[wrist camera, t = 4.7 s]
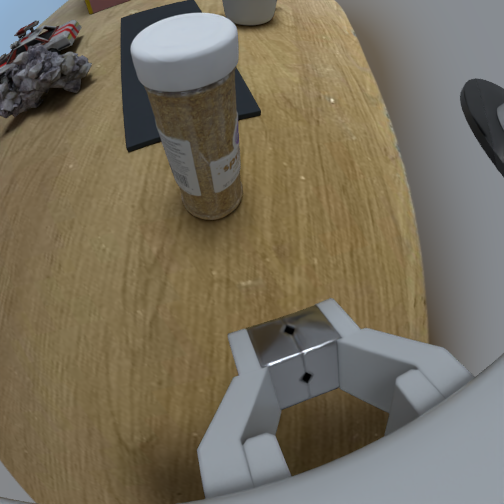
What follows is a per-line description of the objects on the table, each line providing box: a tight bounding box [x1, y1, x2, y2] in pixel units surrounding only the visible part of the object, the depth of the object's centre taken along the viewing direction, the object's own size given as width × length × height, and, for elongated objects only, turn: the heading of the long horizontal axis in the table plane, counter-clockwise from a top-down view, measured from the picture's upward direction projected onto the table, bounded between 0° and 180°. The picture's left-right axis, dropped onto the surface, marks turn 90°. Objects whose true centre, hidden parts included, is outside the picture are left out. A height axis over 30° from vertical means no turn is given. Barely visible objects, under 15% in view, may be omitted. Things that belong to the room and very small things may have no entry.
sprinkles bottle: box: [130, 13, 243, 220], centre depth 16 cm, size 5×5×14 cm
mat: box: [121, 0, 261, 152], centre depth 30 cm, size 32×12×1 cm, turn 19°
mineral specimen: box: [0, 43, 92, 118], centre depth 25 cm, size 12×9×10 cm
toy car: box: [0, 20, 82, 84], centre depth 28 cm, size 8×18×8 cm, turn 101°
